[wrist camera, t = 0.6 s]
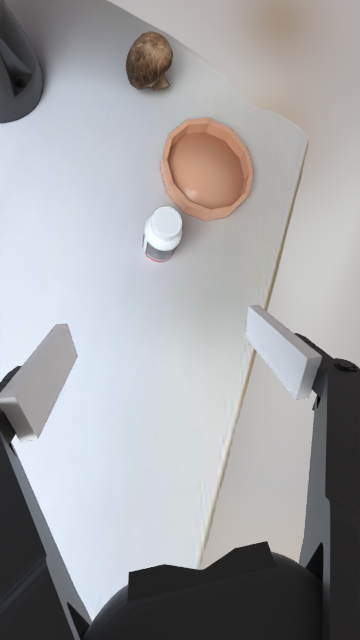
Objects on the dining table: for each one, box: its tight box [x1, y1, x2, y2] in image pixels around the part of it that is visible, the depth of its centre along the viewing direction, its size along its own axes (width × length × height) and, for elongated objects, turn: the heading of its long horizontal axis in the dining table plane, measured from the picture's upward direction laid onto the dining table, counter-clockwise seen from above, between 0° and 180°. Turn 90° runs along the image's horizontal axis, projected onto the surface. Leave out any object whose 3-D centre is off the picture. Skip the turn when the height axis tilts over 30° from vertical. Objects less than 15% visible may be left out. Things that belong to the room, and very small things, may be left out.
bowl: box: [160, 118, 254, 221], centre depth 37 cm, size 16×16×2 cm
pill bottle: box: [142, 206, 182, 263], centre depth 32 cm, size 5×5×10 cm
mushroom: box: [126, 32, 173, 90], centre depth 34 cm, size 8×8×6 cm
